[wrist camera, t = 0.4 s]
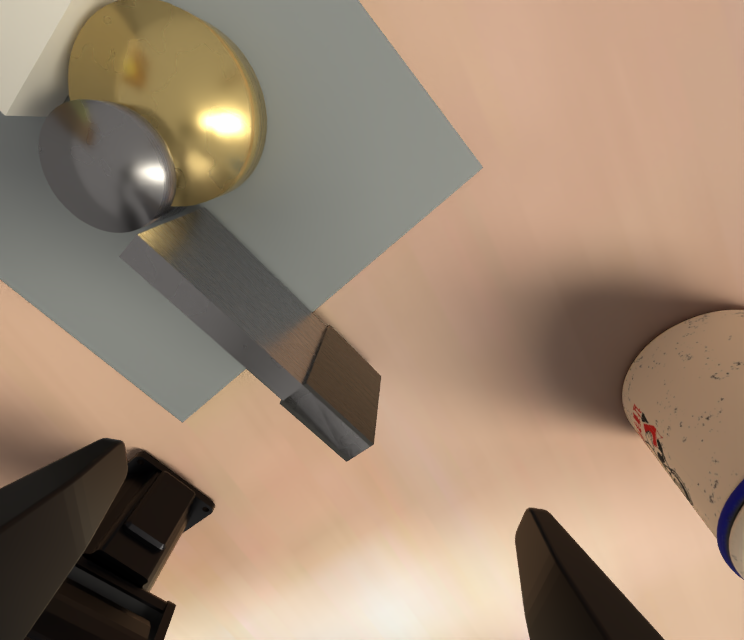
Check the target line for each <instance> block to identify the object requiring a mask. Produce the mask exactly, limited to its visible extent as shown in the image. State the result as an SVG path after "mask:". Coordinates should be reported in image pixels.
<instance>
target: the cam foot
mask: <svg viewBox="0 0 744 640" xmlns="http://www.w3.org/2000/svg"><path fill="white" fill-rule="evenodd" d="M115 1H118V0H0V111H1V112H2V113H3V114H4V115H5V116H38V117H47V116H48V115H49V114H50V112H52V111H53V110H54V109H55V108H56V107H58V106H59V105H61V104H63V102H64V101H65V99H66V98H67V96H68V95H69V89H68V67H69V61H70V55H71V51H72V48H73V45H74V42H75V40H76V38H77V36H78V34H79V32H80V30H81V29H82V27H83V26H84V24H85V23H86V22H87V20H88V19H89V18H90V17H91V16H92V15H94V14H95V13H96V12H97V11H98V10H100V9H101V8H103V7H104V6H106V5H108V4H110V3H113V2H115Z"/></svg>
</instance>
